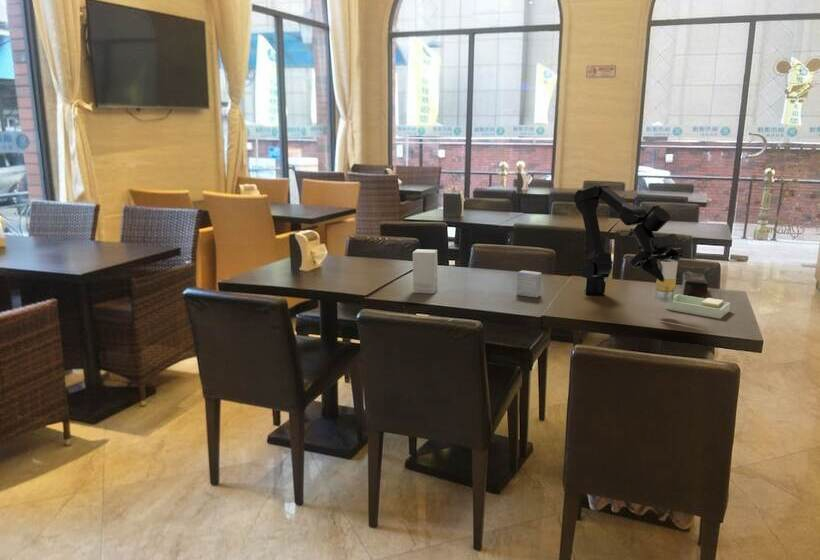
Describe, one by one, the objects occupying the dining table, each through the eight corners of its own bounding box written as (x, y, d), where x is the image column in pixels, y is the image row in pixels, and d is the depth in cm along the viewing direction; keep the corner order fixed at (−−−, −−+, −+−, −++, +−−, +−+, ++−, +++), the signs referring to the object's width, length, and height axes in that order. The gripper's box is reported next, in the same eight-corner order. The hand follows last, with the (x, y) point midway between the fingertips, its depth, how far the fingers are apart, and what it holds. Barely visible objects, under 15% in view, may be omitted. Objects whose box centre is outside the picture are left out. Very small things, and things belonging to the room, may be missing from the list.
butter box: (700, 313, 213) (701, 301, 212) (706, 308, 218) (707, 297, 217) (716, 316, 210) (718, 304, 209) (722, 311, 215) (723, 300, 214)
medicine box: (540, 295, 235) (542, 272, 233) (536, 298, 232) (538, 274, 230) (520, 292, 239) (521, 269, 237) (516, 295, 235) (517, 272, 233)
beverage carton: (702, 288, 250) (704, 271, 248) (706, 300, 232) (708, 282, 231) (680, 286, 252) (682, 270, 251) (682, 298, 235) (684, 280, 233)
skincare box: (437, 290, 241) (438, 249, 237) (433, 294, 235) (434, 252, 231) (416, 288, 243) (416, 248, 239) (411, 292, 237) (412, 251, 233)
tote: (665, 310, 218) (666, 300, 217) (676, 303, 226) (677, 294, 225) (720, 320, 207) (721, 309, 207) (728, 312, 216) (730, 302, 215)
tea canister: (656, 301, 206) (660, 262, 203) (653, 297, 212) (657, 258, 209) (675, 302, 205) (680, 263, 202) (671, 298, 211) (675, 259, 208)
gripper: (640, 227, 203) (663, 268, 196) (683, 223, 210) (707, 263, 203) (620, 247, 211) (642, 287, 204) (662, 243, 219) (684, 282, 212)
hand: (669, 279), depth 206 cm, fingers closed on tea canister, 6 cm apart
